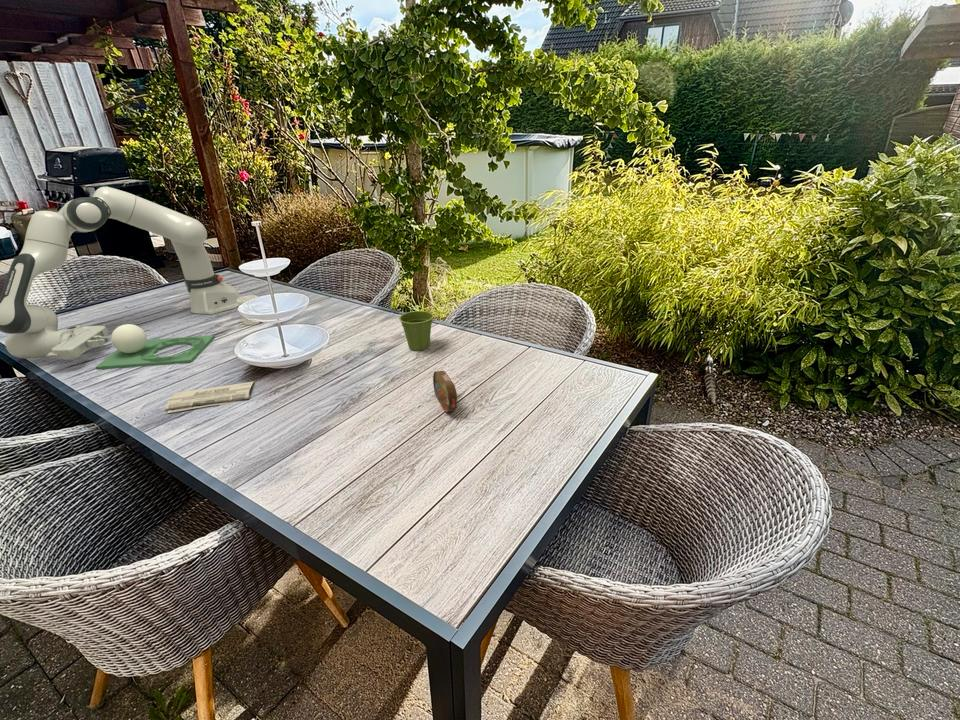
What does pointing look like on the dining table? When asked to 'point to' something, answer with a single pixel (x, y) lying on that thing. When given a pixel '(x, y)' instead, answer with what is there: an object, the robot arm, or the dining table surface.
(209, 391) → the newspaper
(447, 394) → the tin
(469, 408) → the dining table surface
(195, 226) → the robot arm
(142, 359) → the putting mat
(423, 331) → the plant pot
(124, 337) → the ball
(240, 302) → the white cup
